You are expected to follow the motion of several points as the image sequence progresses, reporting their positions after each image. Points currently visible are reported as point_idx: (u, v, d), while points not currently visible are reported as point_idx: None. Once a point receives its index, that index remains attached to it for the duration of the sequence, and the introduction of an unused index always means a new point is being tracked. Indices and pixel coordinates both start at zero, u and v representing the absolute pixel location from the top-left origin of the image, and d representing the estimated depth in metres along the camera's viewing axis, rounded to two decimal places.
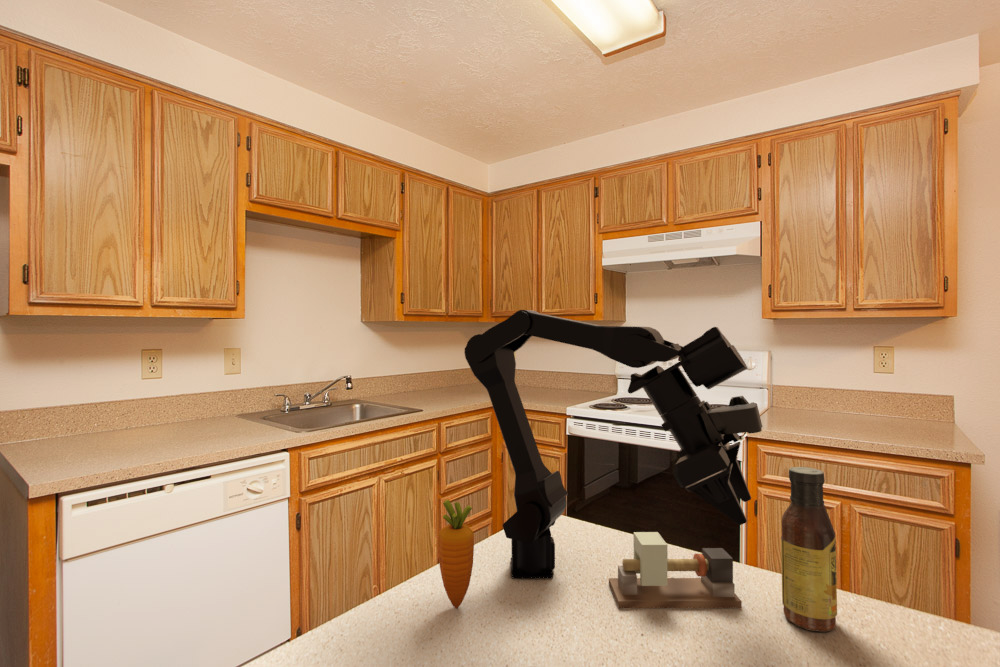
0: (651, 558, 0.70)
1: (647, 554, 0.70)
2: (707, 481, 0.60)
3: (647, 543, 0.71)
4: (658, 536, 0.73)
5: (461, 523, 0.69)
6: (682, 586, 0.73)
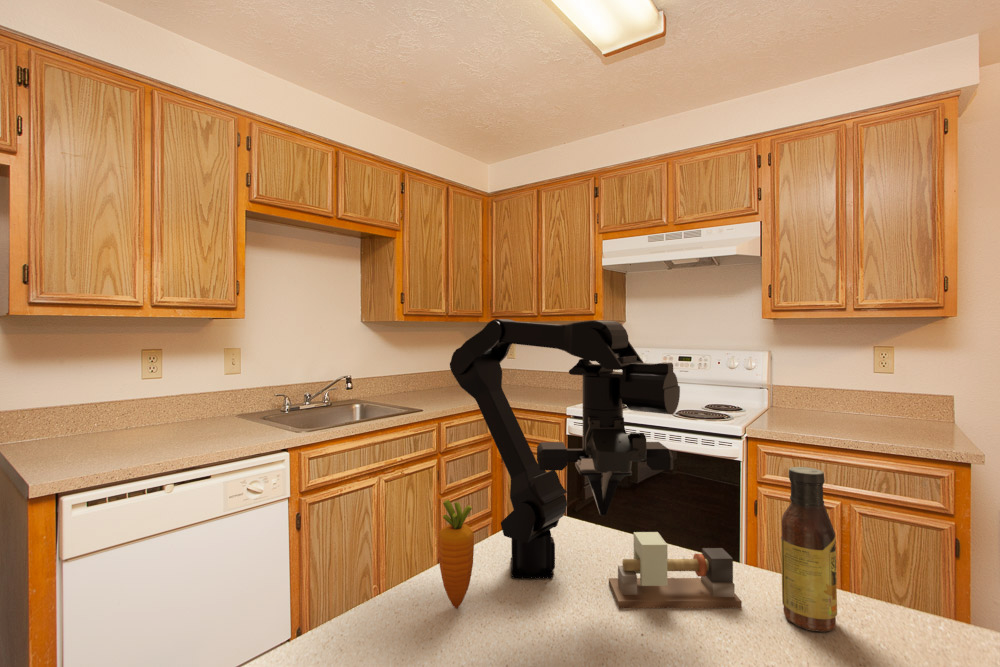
0: (651, 558, 0.70)
1: (647, 554, 0.70)
2: (577, 468, 0.73)
3: (647, 543, 0.71)
4: (658, 536, 0.73)
5: (461, 523, 0.69)
6: (682, 586, 0.73)
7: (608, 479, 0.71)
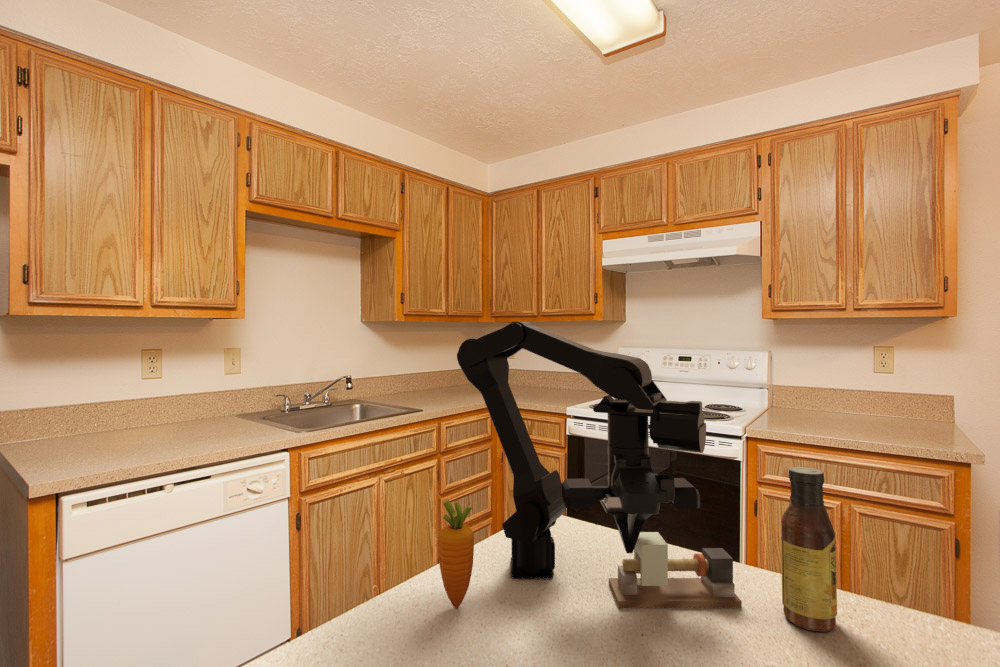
0: (651, 558, 0.70)
1: (647, 554, 0.70)
2: (603, 506, 0.73)
3: (647, 543, 0.71)
4: (658, 536, 0.73)
5: (461, 523, 0.69)
6: (682, 586, 0.73)
7: (634, 517, 0.71)
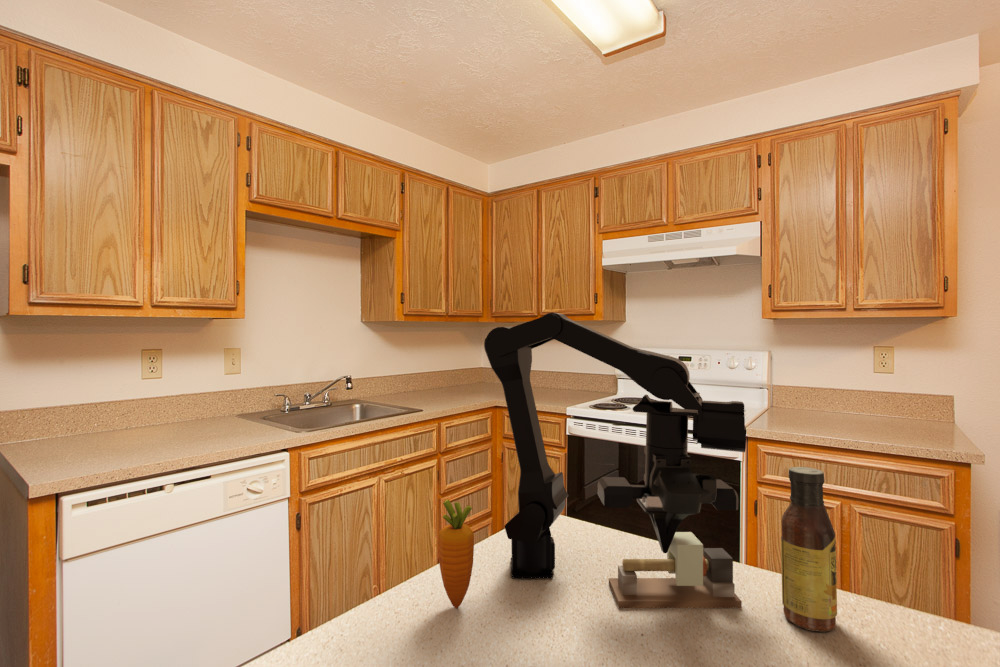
0: (687, 558, 0.70)
1: (683, 554, 0.70)
2: (640, 505, 0.73)
3: (682, 542, 0.71)
4: (692, 536, 0.73)
5: (461, 523, 0.69)
6: (682, 586, 0.73)
7: (670, 517, 0.71)
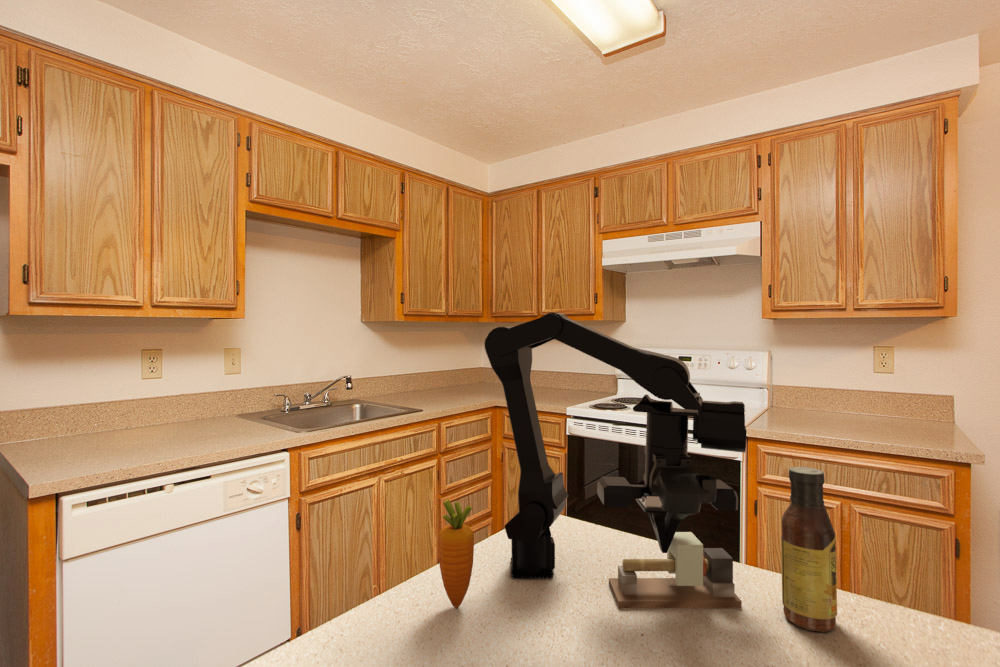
0: (687, 558, 0.70)
1: (683, 554, 0.70)
2: (640, 505, 0.73)
3: (682, 542, 0.71)
4: (692, 536, 0.73)
5: (461, 523, 0.69)
6: (682, 586, 0.73)
7: (670, 517, 0.71)
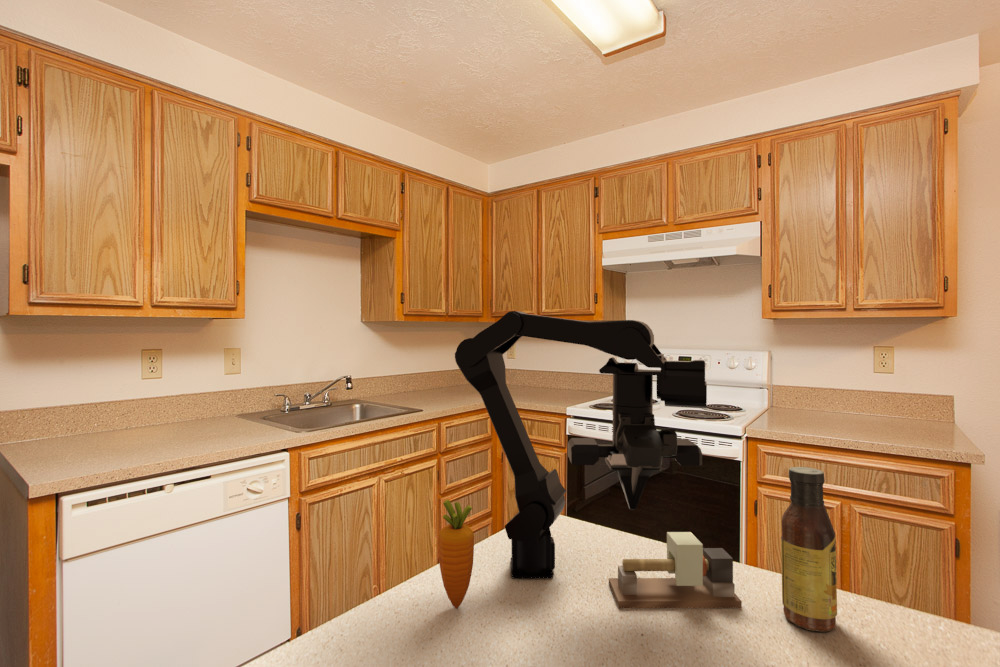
0: (686, 558, 0.70)
1: (683, 554, 0.70)
2: (607, 464, 0.75)
3: (682, 542, 0.71)
4: (692, 536, 0.73)
5: (461, 523, 0.69)
6: (682, 586, 0.73)
7: (638, 474, 0.73)
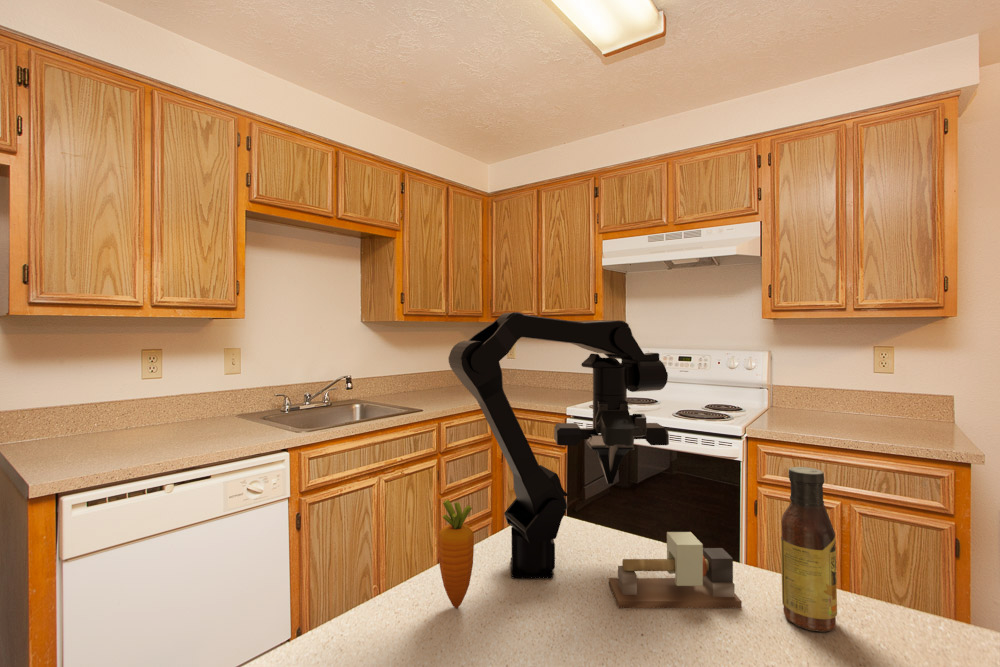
0: (686, 558, 0.70)
1: (683, 554, 0.70)
2: (588, 445, 0.87)
3: (682, 542, 0.71)
4: (692, 536, 0.73)
5: (461, 523, 0.69)
6: (682, 586, 0.73)
7: (614, 453, 0.85)
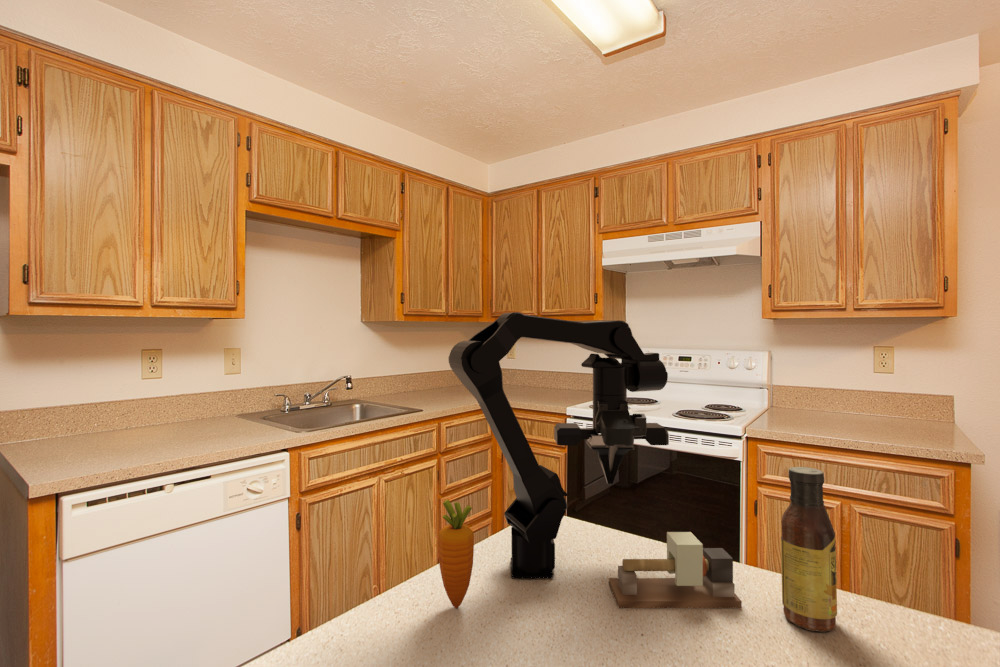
0: (686, 558, 0.70)
1: (683, 554, 0.70)
2: (588, 445, 0.87)
3: (682, 542, 0.71)
4: (692, 536, 0.73)
5: (461, 523, 0.69)
6: (682, 586, 0.73)
7: (614, 453, 0.85)
